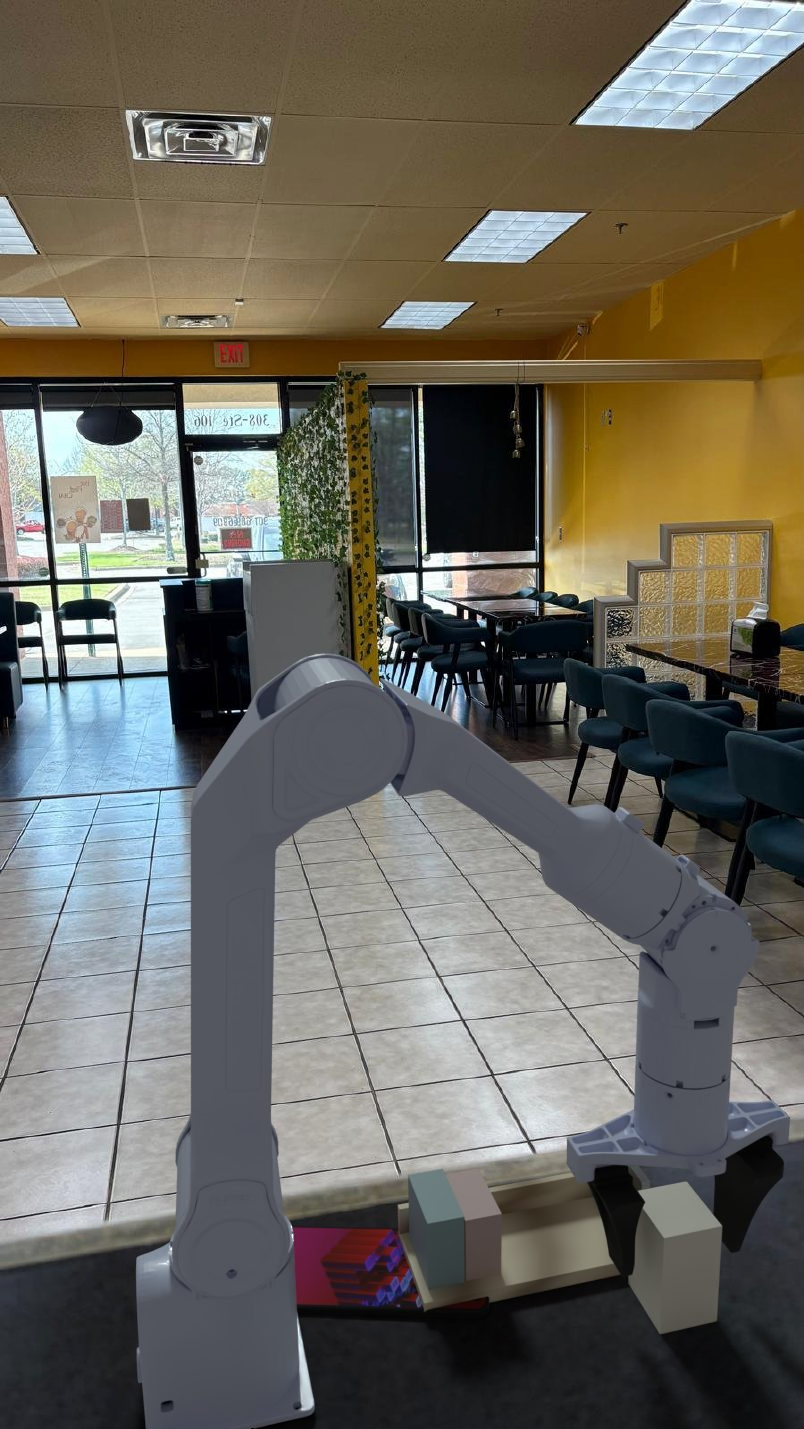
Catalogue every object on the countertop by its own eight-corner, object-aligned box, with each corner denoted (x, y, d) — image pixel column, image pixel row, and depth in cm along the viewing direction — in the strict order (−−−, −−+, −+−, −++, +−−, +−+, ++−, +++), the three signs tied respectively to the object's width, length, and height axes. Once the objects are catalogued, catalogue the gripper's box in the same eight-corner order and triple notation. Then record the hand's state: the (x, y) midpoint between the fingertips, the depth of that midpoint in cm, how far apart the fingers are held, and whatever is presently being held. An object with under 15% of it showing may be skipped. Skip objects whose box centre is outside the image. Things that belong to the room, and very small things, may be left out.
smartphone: (280, 1223, 74) (487, 1228, 73) (281, 1234, 74) (487, 1238, 73) (259, 1306, 66) (489, 1312, 65) (260, 1318, 67) (489, 1324, 66)
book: (660, 1334, 64) (664, 1238, 63) (628, 1283, 68) (631, 1191, 67) (716, 1321, 65) (722, 1225, 64) (682, 1271, 69) (686, 1181, 68)
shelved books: (428, 1290, 67) (427, 1223, 66) (409, 1237, 72) (408, 1174, 70) (501, 1274, 68) (502, 1209, 67) (478, 1224, 73) (478, 1162, 72)
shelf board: (424, 1316, 66) (423, 1276, 65) (398, 1241, 73) (397, 1204, 72) (676, 1262, 70) (678, 1224, 70) (630, 1196, 77) (631, 1161, 76)
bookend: (639, 1246, 70) (641, 1182, 69) (608, 1198, 75) (609, 1138, 74) (647, 1244, 70) (650, 1180, 69) (615, 1197, 75) (617, 1137, 74)
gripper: (602, 1120, 58) (597, 1323, 61) (825, 1080, 61) (811, 1275, 64) (554, 1055, 64) (552, 1241, 67) (758, 1022, 68) (747, 1201, 71)
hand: (674, 1253), depth 66 cm, fingers open, 7 cm apart
